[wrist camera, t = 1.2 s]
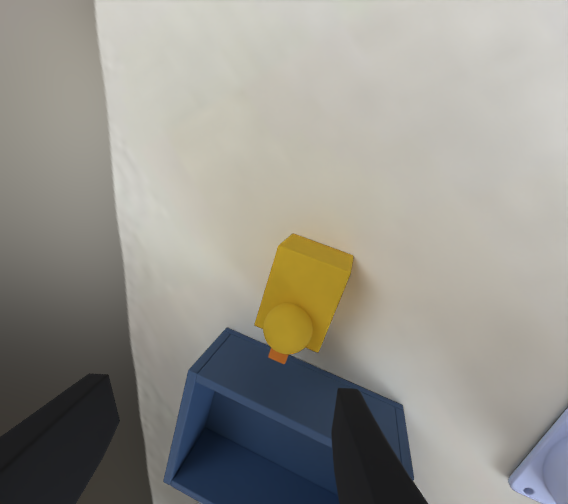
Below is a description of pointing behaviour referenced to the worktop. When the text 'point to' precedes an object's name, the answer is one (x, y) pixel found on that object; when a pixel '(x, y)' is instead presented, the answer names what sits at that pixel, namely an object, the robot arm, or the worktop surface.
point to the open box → (264, 428)
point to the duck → (301, 295)
